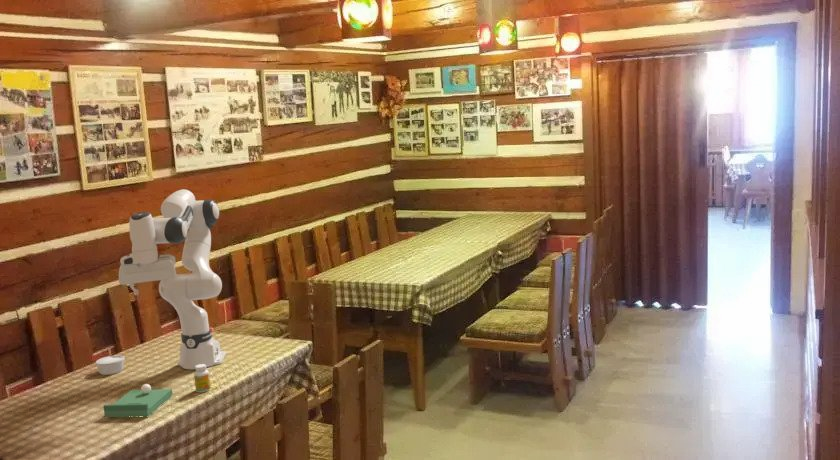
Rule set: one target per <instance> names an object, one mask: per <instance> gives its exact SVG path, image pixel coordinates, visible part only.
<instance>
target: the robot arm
mask: <svg viewBox="0 0 840 460" xmlns="http://www.w3.org/2000/svg"><path fill="white" fill-rule="evenodd" d="M160 213H161V215H162V217H161V218H160V217H158V218H154V217H153V216H152V214H151V212H148V211H141V212H137V213H134V214H131V216H130V217H129V222H128V224H129V228H128V229H129V239H130V241H131V244H132V246H131V253H129V254H127V255H123V256H122V257H121V258H120V260H119V262H120V267H119V269H118V283H119V284H120V285H121V286H124V285H129V288H130V289H131V290H132V291H133V294H134V295H133V296H139V289H136V288H135V287H134V286H135V284H139V283H149V282H157V281H159V283H158V292H159V294H160V297H161V298H163V300H165V301H166V302H168V303H169V304H170V305H171V306H172V307H173V308H174V310H176V312H177V315H178V318H179V323H180V330H181V333H180V340H181V344H180V345H179V361H178V362H177V366H180V367H181V368H182V369H185V370H195V366H196V365H199V364H205V365H206V368H209V367H212V366H216V365H221V364H222V363H223V360H224V358H225V357H226V354H227V351H226V350H221V344H220V342H219V341H218V340H217V339H215V338H214V337H213V335H212V333H214V328H213V327H210V325H209V317H208V312H207V311H206V309H204V308H202V307H201V306H198V305H196V304H195V302H194V301H197V300H198V301H199V300H209V299H212V298H217V297H218V296H219V295H220V294H221V292H222V290H223V289H222V288H223V281H222V279H221V277H220V276H219V275H218V274H217V273H215V272H214V271H213V270H212V269H211V266H210V253H211V248H212V247H211V246H212V233H211V229H213V228H214V227H215V224H216V223H217V222H218V220H219V219H220V208H219V205H218V203H217V202H216V201H215V200H212V199H205V200H204V199H203V200H202V199H201V200H196V197H195V195H194V194H193V192H192V191H190V190H188V189H183V188H182V189H179V190H176V191H174V192H173V193H171V194H170V195H168V196H167V197H166V198H165V199H164V200H163V202H162V203H161V206H160ZM183 242H184V245H183V250H182V253H181V263H182V266H183V267H184V268H185V269H186V270H188V271H190V273H180V274H179V273H177V271H176V270H177V269H176V266H175V265H176V262H177V260H176V257H175V255H173V254H171V253H168V254H159V253H158V244H162V245H163V244H181V243H183Z"/></svg>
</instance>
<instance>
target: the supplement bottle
mask: <svg viewBox="0 0 840 460" xmlns="http://www.w3.org/2000/svg"><path fill="white" fill-rule="evenodd" d="M194 370H195V371H194V372H193V373H194V374H193V376H194V383H195V384H194V385H195V391H196V392H197V393H205V392H209V391H210V390H211V380H210V371H209V369H207V367H206V365H205V364H199V365H196V366H195V369H194Z"/></svg>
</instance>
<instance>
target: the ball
mask: <svg viewBox="0 0 840 460" xmlns="http://www.w3.org/2000/svg"><path fill="white" fill-rule="evenodd" d="M140 390H141V391H142V393H144V394H148V393H150V391H151V390H152V387H151V385H150V384H148V383H144V384H142V385H141V387H140Z"/></svg>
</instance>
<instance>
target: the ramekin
mask: <svg viewBox="0 0 840 460" xmlns="http://www.w3.org/2000/svg"><path fill="white" fill-rule="evenodd" d="M125 359H126V358H125V356H123V355H108V356H104V357H101V358H99V359H97V360H96V361H95V365H96V367H97V370H98V373H99V374H100V375H104V376H108V375H109V376H110V375H115V374H118V373H120V372H123V370H124V368H125V361H126V360H125Z"/></svg>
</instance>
